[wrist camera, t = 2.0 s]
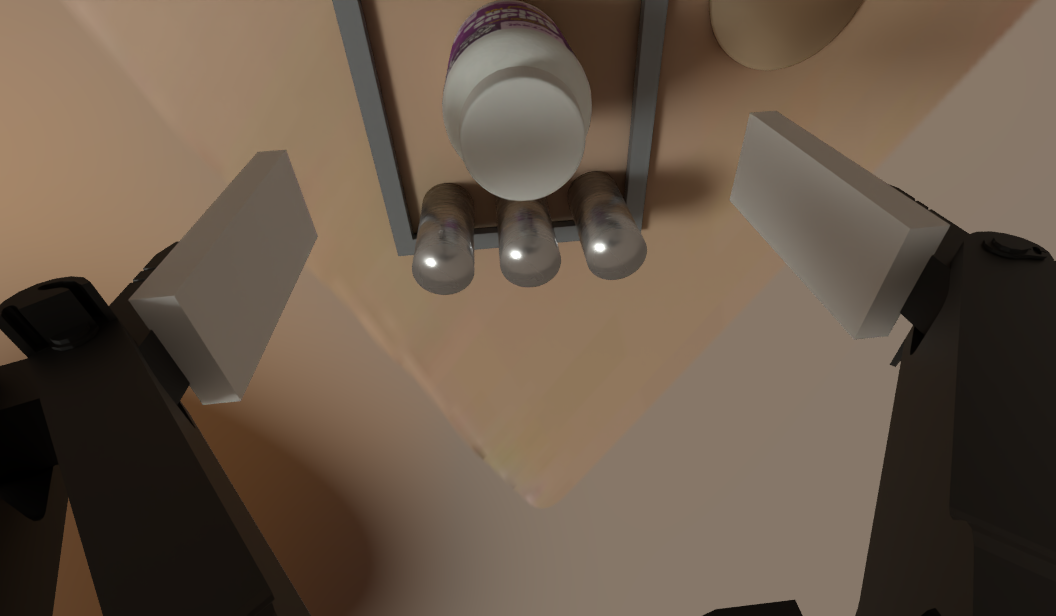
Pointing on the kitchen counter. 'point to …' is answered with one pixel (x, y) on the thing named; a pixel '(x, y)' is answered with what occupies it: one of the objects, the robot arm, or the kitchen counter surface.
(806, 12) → the cork coaster
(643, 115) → the parts tray rim
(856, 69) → the kitchen counter surface
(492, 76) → the pill bottle
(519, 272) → the spacers
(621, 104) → the kitchen counter surface
